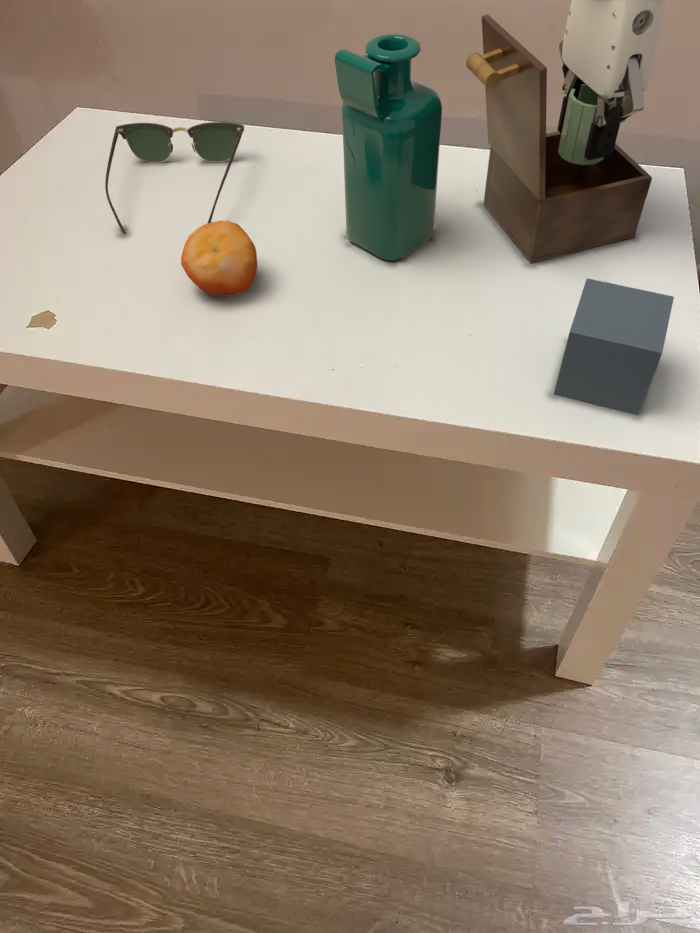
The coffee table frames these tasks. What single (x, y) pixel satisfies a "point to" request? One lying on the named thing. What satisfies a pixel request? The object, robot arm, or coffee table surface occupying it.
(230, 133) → the sunglasses
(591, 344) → the slate grey cube
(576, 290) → the coffee table surface
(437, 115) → the green bottle
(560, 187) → the chest
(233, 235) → the fruit
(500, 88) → the lid
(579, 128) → the cup
